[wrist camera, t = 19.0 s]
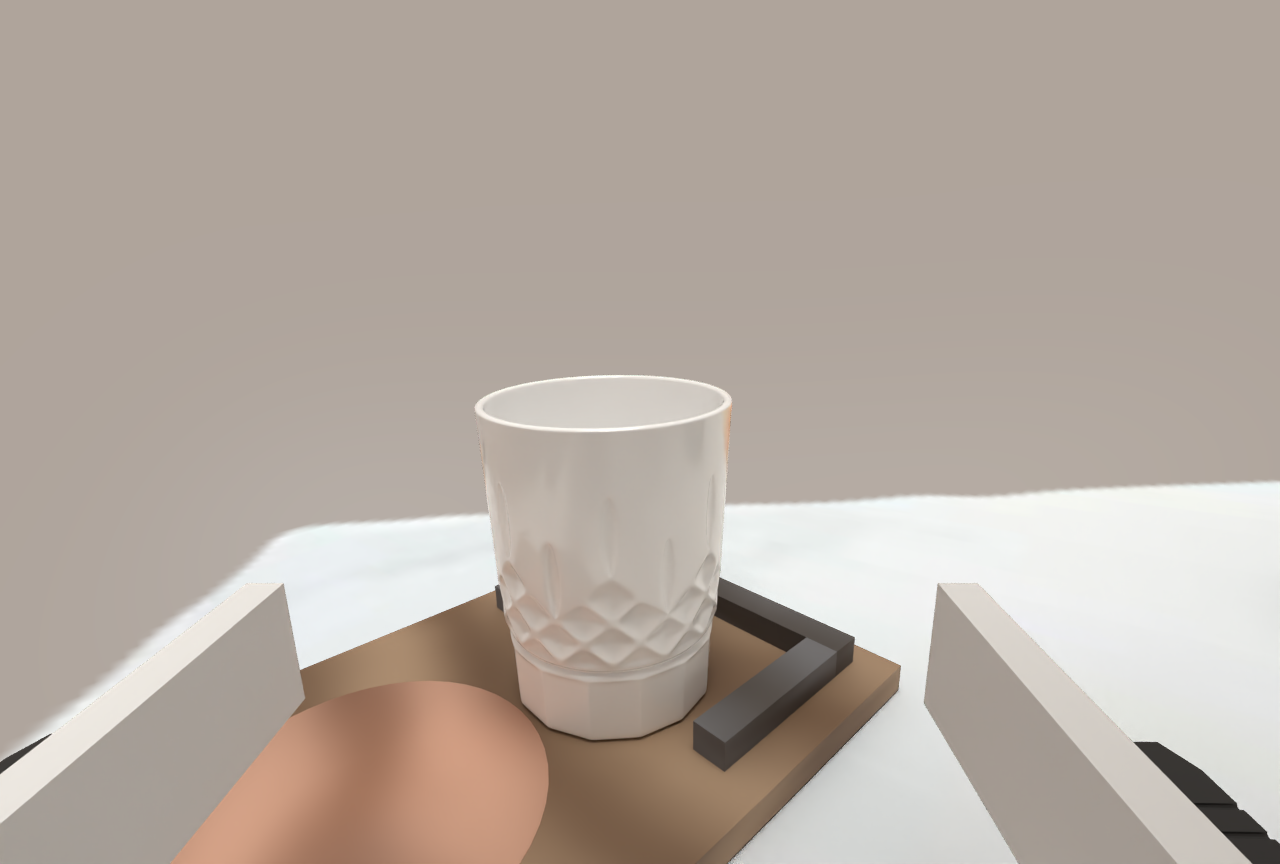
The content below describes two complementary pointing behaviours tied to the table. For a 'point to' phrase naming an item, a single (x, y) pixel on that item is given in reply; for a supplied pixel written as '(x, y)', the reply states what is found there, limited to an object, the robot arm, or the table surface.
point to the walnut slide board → (541, 752)
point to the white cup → (607, 543)
